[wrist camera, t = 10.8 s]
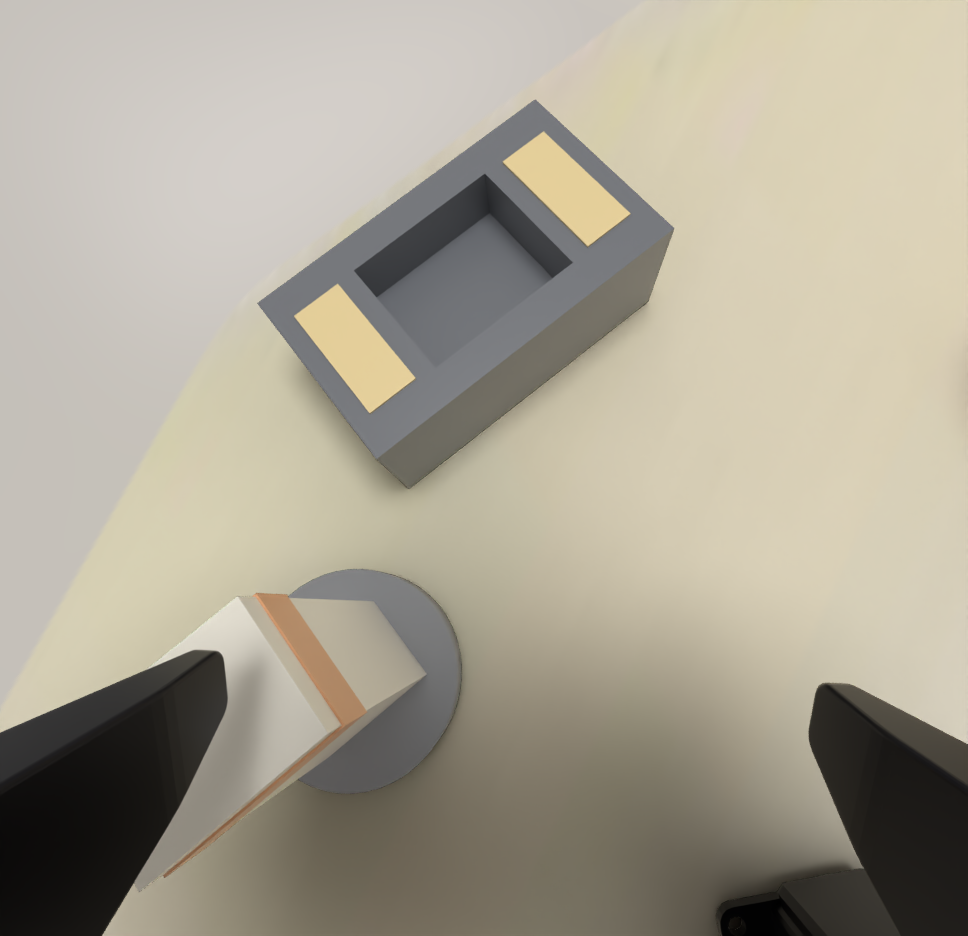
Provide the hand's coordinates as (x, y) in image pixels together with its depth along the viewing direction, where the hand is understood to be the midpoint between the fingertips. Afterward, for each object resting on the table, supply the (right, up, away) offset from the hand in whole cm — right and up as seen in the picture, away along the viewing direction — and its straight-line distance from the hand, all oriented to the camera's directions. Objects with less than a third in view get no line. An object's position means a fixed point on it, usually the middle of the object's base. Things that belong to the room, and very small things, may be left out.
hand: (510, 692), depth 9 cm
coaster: (-5, -4, +12) cm, 13 cm away
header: (-1, +9, +14) cm, 17 cm away
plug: (-5, -3, +10) cm, 12 cm away
